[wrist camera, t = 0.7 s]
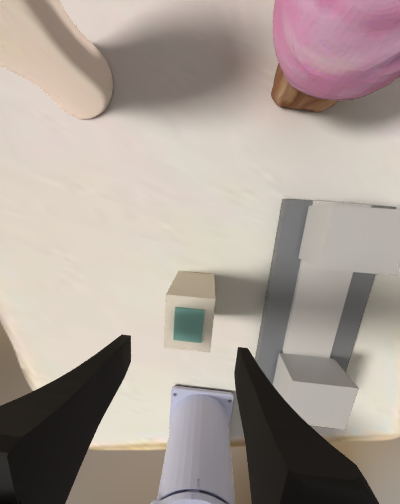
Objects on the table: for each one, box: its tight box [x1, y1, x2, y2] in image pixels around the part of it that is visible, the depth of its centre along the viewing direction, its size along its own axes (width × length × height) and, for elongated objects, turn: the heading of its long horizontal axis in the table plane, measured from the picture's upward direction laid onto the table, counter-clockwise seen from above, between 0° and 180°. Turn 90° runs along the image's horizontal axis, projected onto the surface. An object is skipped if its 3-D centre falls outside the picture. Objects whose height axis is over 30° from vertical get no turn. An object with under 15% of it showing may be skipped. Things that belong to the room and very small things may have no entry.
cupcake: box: [271, 0, 400, 112], centre depth 11 cm, size 9×9×10 cm
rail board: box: [255, 199, 400, 430], centre depth 18 cm, size 22×10×5 cm, turn 176°
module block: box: [164, 271, 216, 352], centre depth 18 cm, size 5×4×6 cm
